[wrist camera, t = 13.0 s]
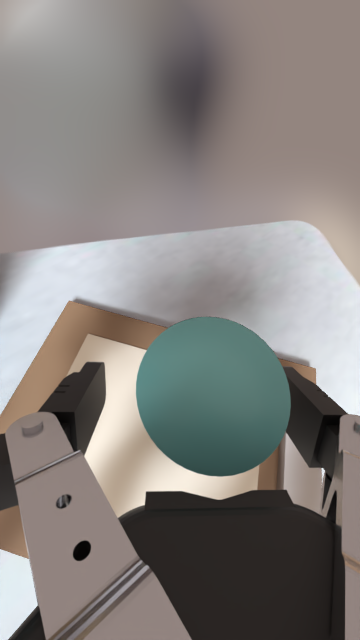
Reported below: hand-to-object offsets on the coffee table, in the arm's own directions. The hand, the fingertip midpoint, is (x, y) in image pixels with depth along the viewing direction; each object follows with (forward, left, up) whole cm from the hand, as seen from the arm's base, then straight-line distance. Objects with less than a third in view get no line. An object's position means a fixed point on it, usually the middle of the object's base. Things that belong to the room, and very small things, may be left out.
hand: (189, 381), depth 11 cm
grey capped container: (0, -1, -7) cm, 7 cm away
